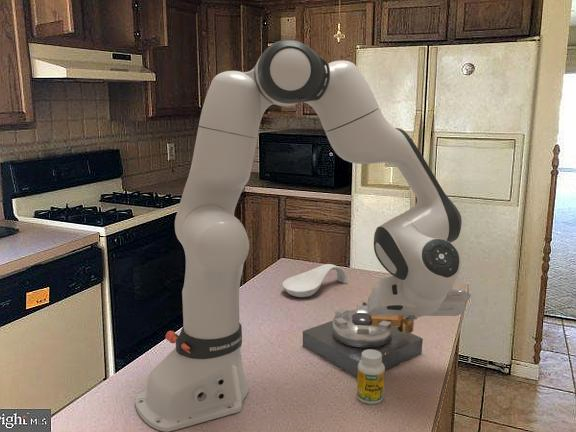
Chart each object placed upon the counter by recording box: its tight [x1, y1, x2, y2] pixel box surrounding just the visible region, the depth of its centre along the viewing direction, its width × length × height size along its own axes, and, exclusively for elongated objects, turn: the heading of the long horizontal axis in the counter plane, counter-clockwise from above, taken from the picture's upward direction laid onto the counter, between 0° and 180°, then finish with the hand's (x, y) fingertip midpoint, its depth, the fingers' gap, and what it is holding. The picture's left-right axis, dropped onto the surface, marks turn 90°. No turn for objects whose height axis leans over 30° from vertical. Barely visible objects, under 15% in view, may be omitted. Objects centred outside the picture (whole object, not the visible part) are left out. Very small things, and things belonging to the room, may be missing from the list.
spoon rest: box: [282, 263, 349, 298], centre depth 161 cm, size 24×12×7 cm, turn 129°
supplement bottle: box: [356, 349, 386, 405], centre depth 103 cm, size 5×5×10 cm
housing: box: [302, 320, 424, 379], centre depth 123 cm, size 20×20×4 cm
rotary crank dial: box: [332, 304, 415, 348], centre depth 121 cm, size 19×14×11 cm
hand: (409, 316), depth 117 cm, fingers closed
